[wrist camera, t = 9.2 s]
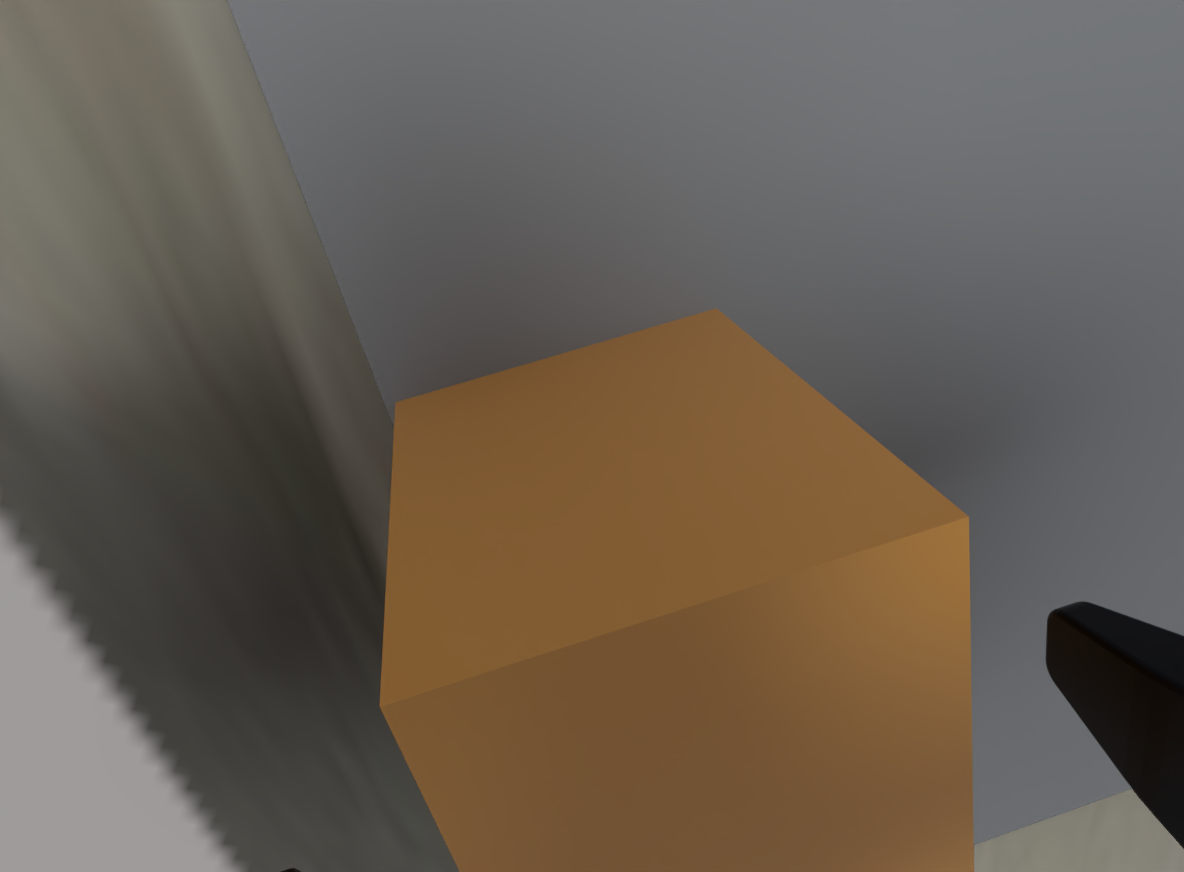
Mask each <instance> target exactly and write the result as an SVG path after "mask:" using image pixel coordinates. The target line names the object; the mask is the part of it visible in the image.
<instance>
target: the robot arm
mask: <svg viewBox="0 0 1184 872" xmlns="http://www.w3.org/2000/svg"><path fill="white" fill-rule="evenodd" d="M1045 660H1046V666H1047V670H1048V672H1049V675H1050V677H1051V679H1052V680H1053V682H1054V683H1055V685H1056V686H1057V688H1058V689H1059V690H1060V692H1061V693H1062V694H1063V696H1064V697H1065V698H1066V700H1067V701H1068V703H1069V704H1070V705H1071V707H1072V708H1073V709H1074V711H1075V712H1076V713H1077V715H1078V716H1079V718H1080V719H1081V720H1082V722H1083V723H1084V724H1085V726H1086V727H1087V729H1088V730H1089V731H1090V733H1091V734H1092V735H1093V737H1094V738H1095V739H1096V741H1097V742H1098V744H1099V745H1100V746H1101V748H1102V749H1103V750H1104V752H1105V753H1106V754H1107V756H1108V757H1109V759H1110V760H1111V761H1112V763H1113V764H1114V765H1115V767H1116V768H1117V770H1118V771H1119V772H1120V774H1121V775H1122V776H1123V778H1124V779H1125V780H1126V782H1127V783H1128V784H1129V785H1130V787H1131V788H1132V789H1133V791H1134V792H1135V793H1136V794H1137V796H1138V797H1139V798H1140V799H1141V801H1142V802H1143V803H1144V804H1145V805H1146V806H1147V808H1148V809H1149V810H1150V811H1151V812H1152V813H1153V815H1154V816H1155V817H1156V818H1157V819H1158V820H1159V821H1160V823H1161V824H1162V825H1163V826H1164V827H1165V828H1166V829H1167V830H1168V832H1169V833H1170V834H1171V835H1172V836H1173V837H1174V838H1175V839H1176V841H1177V842H1178V843H1179V844H1180V845H1181V846H1182V847H1183V848H1184V636H1183V635H1180V634H1178V633H1175V632H1172V631H1169V630H1166V629H1164V628H1161V627H1158V626H1155V625H1152V624H1150V623H1147V622H1144V621H1141V620H1138V619H1136V618H1133V617H1130V616H1127V615H1124V614H1122V613H1119V612H1116V611H1113V610H1110V609H1108V608H1105V607H1102V606H1099V605H1096V604H1094V603H1090V602H1085V601H1079V602H1075V603H1072V604H1069V605H1066V606H1063V607H1060V608H1057V609H1054V610H1053V611H1051V612H1050V614H1049V616H1048V618H1047V632H1046V657H1045ZM281 872H300V871H299V870H298V869H295V868H290V869H287V870H284V871H281Z"/></svg>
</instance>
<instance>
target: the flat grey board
mask: <svg viewBox="0 0 1184 872" xmlns="http://www.w3.org/2000/svg"><path fill="white" fill-rule="evenodd" d="M227 1H228V4H229V7H230V9H231V12H232V14H233V17H234V19H235V22H236V25H237V27H238V30H239V32H240V35H241V37H242V40H243V42H244V45H245V48H246V50H247V53H248V55H249V58H250V60H251V63H252V66H253V68H254V71H255V73H256V76H257V78H258V81H259V84H260V86H261V89H262V91H263V94H264V96H265V99H266V101H267V104H268V107H269V109H270V112H271V114H272V117H273V119H274V122H275V125H276V127H277V130H278V132H279V135H280V137H281V140H282V142H283V145H284V148H285V150H286V153H287V155H288V158H289V160H290V163H291V166H292V168H293V171H294V173H295V176H296V178H297V181H298V184H299V186H300V189H301V191H302V194H303V196H304V199H305V201H306V204H307V207H308V209H309V212H310V214H311V217H312V219H313V222H314V225H315V227H316V230H317V232H318V235H319V237H320V240H321V243H322V245H323V248H324V250H325V253H326V255H327V258H328V260H329V263H330V266H331V268H332V271H333V273H334V276H335V278H336V281H337V284H338V286H339V289H340V291H341V294H342V296H343V299H344V302H345V304H346V307H347V309H348V312H349V314H350V317H351V319H352V322H353V325H354V327H355V330H356V332H357V335H358V337H359V340H360V343H361V345H362V348H363V350H364V353H365V355H366V358H367V360H368V363H369V366H370V368H371V371H372V373H373V376H374V378H375V381H376V384H377V386H378V389H379V391H380V394H381V396H382V399H383V402H384V404H385V407H386V409H387V412H388V414H389V417H390V419H391V422H392V425H393V427H394V420H395V402H398V401H402V400H405V399H409V398H412V397H415V396H419V395H422V394H426V393H429V392H433V391H436V390H439V389H443V388H446V387H450V386H453V385H456V384H460V383H463V382H467V381H470V380H473V379H477V378H480V377H484V376H487V375H490V374H494V373H497V372H501V371H504V370H507V369H511V368H514V367H518V366H521V365H525V364H528V363H531V362H535V361H538V360H542V359H545V358H548V357H552V356H555V355H559V354H562V353H565V352H569V351H572V350H576V349H579V348H582V347H586V346H589V345H593V344H596V343H600V342H603V341H606V340H610V339H613V338H617V337H620V336H623V335H627V334H630V333H634V332H637V331H640V330H644V329H647V328H651V327H654V326H657V325H661V324H664V323H668V322H671V321H675V320H678V319H681V318H685V317H688V316H692V315H695V314H698V313H702V312H705V311H709V310H712V309H715V308H717V309H718V310H719V311H720V312H722V313H723V314H724V315H725V316H726V317H728V318H729V319H730V320H731V321H733V322H734V323H735V324H736V325H737V326H739V327H740V328H741V329H742V330H743V331H745V332H746V333H747V334H748V335H749V336H751V337H752V338H753V339H754V340H756V341H757V342H758V343H759V344H760V345H762V346H763V347H764V348H765V349H766V350H768V351H769V352H770V353H771V354H773V355H774V356H775V357H776V358H777V359H779V360H780V361H781V362H782V363H783V364H785V365H786V366H787V367H788V368H789V369H791V370H792V371H793V372H794V373H796V374H797V375H798V376H799V377H800V378H802V379H803V380H804V381H805V382H806V383H808V384H809V385H810V386H811V387H813V388H814V389H815V390H816V391H817V392H819V393H820V394H821V395H822V396H823V397H825V398H826V399H827V400H828V401H829V402H831V403H832V404H833V405H834V406H836V407H837V408H838V409H839V410H840V411H842V412H843V413H844V414H845V415H846V416H848V417H849V418H850V419H851V420H852V421H854V422H855V423H856V424H857V425H859V426H860V427H861V428H862V429H863V430H865V431H866V432H867V433H868V434H869V435H871V436H872V437H873V438H874V439H876V440H877V441H878V442H879V443H880V444H882V445H883V446H884V447H885V448H886V449H888V450H889V451H890V452H891V453H892V454H894V455H895V456H896V457H897V458H899V459H900V460H901V461H902V462H903V463H905V464H906V465H907V466H908V467H909V468H911V469H912V470H913V471H914V472H916V473H917V474H918V475H919V476H920V477H922V478H923V479H924V480H925V481H926V482H928V483H929V484H930V485H931V486H932V487H934V488H935V489H936V490H937V491H939V492H940V493H941V494H942V495H943V496H945V497H946V498H947V499H948V500H949V501H951V502H952V503H953V504H954V505H956V506H957V507H958V508H959V509H960V510H962V511H963V512H964V513H965V514H966V515H968V516H969V551H970V621H971V692H972V762H973V833H974V845H975V844H978V843H981V842H983V841H986V840H989V839H992V838H995V837H997V836H1000V835H1003V834H1006V833H1009V832H1011V831H1014V830H1017V829H1020V828H1023V827H1025V826H1028V825H1031V824H1034V823H1037V822H1039V821H1042V820H1045V819H1048V818H1051V817H1053V816H1056V815H1059V814H1062V813H1065V812H1067V811H1070V810H1073V809H1076V808H1079V807H1081V806H1084V805H1087V804H1090V803H1092V802H1095V801H1098V800H1101V799H1104V798H1106V797H1109V796H1112V795H1115V794H1118V793H1120V792H1123V791H1126V790H1129V789H1132V788H1131V787H1130V785H1129V784H1128V783H1127V782H1126V780H1125V779H1124V778H1123V776H1122V775H1121V774H1120V772H1119V771H1118V770H1117V768H1116V767H1115V765H1114V764H1113V763H1112V761H1111V760H1110V759H1109V757H1108V756H1107V754H1106V753H1105V752H1104V750H1103V749H1102V748H1101V746H1100V745H1099V744H1098V742H1097V741H1096V739H1095V738H1094V737H1093V735H1092V734H1091V733H1090V731H1089V730H1088V729H1087V727H1086V726H1085V724H1084V723H1083V722H1082V720H1081V719H1080V718H1079V716H1078V715H1077V713H1076V712H1075V711H1074V709H1073V708H1072V707H1071V705H1070V704H1069V703H1068V701H1067V700H1066V698H1065V697H1064V696H1063V694H1062V693H1061V692H1060V690H1059V689H1058V688H1057V686H1056V685H1055V683H1054V682H1053V680H1052V679H1051V677H1050V675H1049V672H1048V670H1047V666H1046V660H1045V657H1046V632H1047V618H1048V616H1049V614H1050V612H1051V611H1053V610H1054V609H1057V608H1060V607H1063V606H1066V605H1069V604H1072V603H1075V602H1079V601H1085V602H1090V603H1094V604H1096V605H1099V606H1102V607H1105V608H1108V609H1110V610H1113V611H1116V612H1119V613H1122V614H1124V615H1127V616H1130V617H1133V618H1136V619H1138V620H1141V621H1144V622H1147V623H1150V624H1152V625H1155V626H1158V627H1161V628H1164V629H1166V630H1169V631H1172V632H1175V633H1178V634H1180V635H1183V636H1184V0H227Z"/></svg>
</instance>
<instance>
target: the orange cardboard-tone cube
mask: <svg viewBox="0 0 1184 872" xmlns="http://www.w3.org/2000/svg"><path fill="white" fill-rule="evenodd" d="M380 709H381V711H382V713H383V715H384V717H385V719H386V721H387V723H388V725H389V727H390V729H391V731H392V733H393V735H394V737H395V739H396V742H397V744H398V746H399V748H400V750H401V752H402V754H403V756H404V758H405V760H406V762H407V764H408V766H409V768H410V770H411V772H412V775H413V777H414V779H415V781H416V783H417V785H418V787H419V789H420V791H421V793H422V795H423V797H424V799H425V801H426V803H427V805H428V807H429V810H430V812H431V814H432V816H433V818H434V820H435V822H436V824H437V826H438V828H439V830H440V832H441V834H442V836H443V838H444V840H445V843H446V845H447V847H448V849H449V851H450V853H451V855H452V857H453V859H454V861H455V863H456V865H457V867H458V869H459V871H460V872H974V833H973V762H972V692H971V621H970V551H969V516H968V515H966V514H965V513H964V512H963V511H962V510H960V509H959V508H958V507H957V506H956V505H954V504H953V503H952V502H951V501H949V500H948V499H947V498H946V497H945V496H943V495H942V494H941V493H940V492H939V491H937V490H936V489H935V488H934V487H932V486H931V485H930V484H929V483H928V482H926V481H925V480H924V479H923V478H922V477H920V476H919V475H918V474H917V473H916V472H914V471H913V470H912V469H911V468H909V467H908V466H907V465H906V464H905V463H903V462H902V461H901V460H900V459H899V458H897V457H896V456H895V455H894V454H892V453H891V452H890V451H889V450H888V449H886V448H885V447H884V446H883V445H882V444H880V443H879V442H878V441H877V440H876V439H874V438H873V437H872V436H871V435H869V434H868V433H867V432H866V431H865V430H863V429H862V428H861V427H860V426H859V425H857V424H856V423H855V422H854V421H852V420H851V419H850V418H849V417H848V416H846V415H845V414H844V413H843V412H842V411H840V410H839V409H838V408H837V407H836V406H834V405H833V404H832V403H831V402H829V401H828V400H827V399H826V398H825V397H823V396H822V395H821V394H820V393H819V392H817V391H816V390H815V389H814V388H813V387H811V386H810V385H809V384H808V383H806V382H805V381H804V380H803V379H802V378H800V377H799V376H798V375H797V374H796V373H794V372H793V371H792V370H791V369H789V368H788V367H787V366H786V365H785V364H783V363H782V362H781V361H780V360H779V359H777V358H776V357H775V356H774V355H773V354H771V353H770V352H769V351H768V350H766V349H765V348H764V347H763V346H762V345H760V344H759V343H758V342H757V341H756V340H754V339H753V338H752V337H751V336H749V335H748V334H747V333H746V332H745V331H743V330H742V329H741V328H740V327H739V326H737V325H736V324H735V323H734V322H733V321H731V320H730V319H729V318H728V317H726V316H725V315H724V314H723V313H722V312H720V311H719V310H718V309H717V308H715V309H712V310H709V311H705V312H702V313H698V314H695V315H692V316H688V317H685V318H681V319H678V320H675V321H671V322H668V323H664V324H661V325H657V326H654V327H651V328H647V329H644V330H640V331H637V332H634V333H630V334H627V335H623V336H620V337H617V338H613V339H610V340H606V341H603V342H600V343H596V344H593V345H589V346H586V347H582V348H579V349H576V350H572V351H569V352H565V353H562V354H559V355H555V356H552V357H548V358H545V359H542V360H538V361H535V362H531V363H528V364H525V365H521V366H518V367H514V368H511V369H507V370H504V371H501V372H497V373H494V374H490V375H487V376H484V377H480V378H477V379H473V380H470V381H467V382H463V383H460V384H456V385H453V386H450V387H446V388H443V389H439V390H436V391H433V392H429V393H426V394H422V395H419V396H415V397H412V398H409V399H405V400H402V401H398V402H395V420H394V439H393V459H392V478H391V497H390V516H389V536H388V555H387V574H386V593H385V613H384V632H383V651H382V670H381V690H380Z"/></svg>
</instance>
